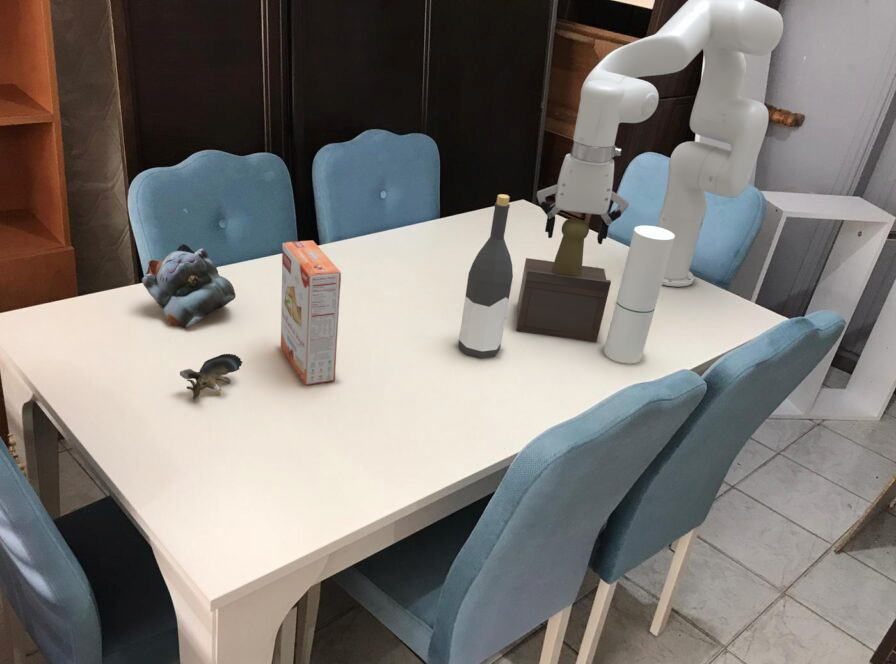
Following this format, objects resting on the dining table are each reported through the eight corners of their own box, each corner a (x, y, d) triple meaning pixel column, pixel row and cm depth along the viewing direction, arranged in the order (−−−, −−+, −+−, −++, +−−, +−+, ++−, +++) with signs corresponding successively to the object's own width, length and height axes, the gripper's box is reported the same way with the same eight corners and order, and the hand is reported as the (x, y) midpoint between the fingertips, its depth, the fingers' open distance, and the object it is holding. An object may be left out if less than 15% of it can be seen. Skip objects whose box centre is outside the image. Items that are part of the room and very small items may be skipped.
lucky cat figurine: (172, 335, 155) (139, 264, 151) (161, 331, 166) (130, 265, 162) (245, 301, 159) (214, 232, 156) (230, 299, 170) (201, 235, 166)
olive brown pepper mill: (581, 281, 165) (593, 228, 159) (550, 276, 166) (561, 223, 160) (581, 270, 170) (592, 217, 164) (551, 265, 171) (561, 213, 165)
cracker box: (278, 348, 154) (280, 240, 143) (309, 345, 156) (314, 238, 145) (302, 387, 143) (307, 273, 132) (335, 382, 145) (343, 270, 135)
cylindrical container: (642, 350, 166) (675, 230, 153) (639, 366, 160) (673, 242, 147) (605, 342, 167) (635, 222, 155) (601, 358, 161) (632, 234, 149)
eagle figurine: (221, 404, 134) (252, 372, 140) (196, 368, 131) (228, 337, 138) (192, 412, 139) (223, 380, 145) (167, 378, 136) (199, 347, 142)
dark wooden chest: (517, 306, 179) (527, 248, 172) (592, 316, 177) (606, 259, 171) (516, 330, 169) (527, 270, 162) (596, 342, 167) (611, 282, 161)
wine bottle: (476, 334, 165) (500, 185, 150) (508, 350, 161) (536, 198, 146) (449, 346, 160) (470, 193, 145) (481, 363, 156) (507, 206, 140)
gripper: (637, 151, 158) (617, 237, 167) (544, 141, 160) (530, 226, 168) (641, 162, 152) (620, 251, 160) (544, 152, 153) (530, 240, 162)
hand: (574, 238), depth 164 cm, fingers open, 9 cm apart
